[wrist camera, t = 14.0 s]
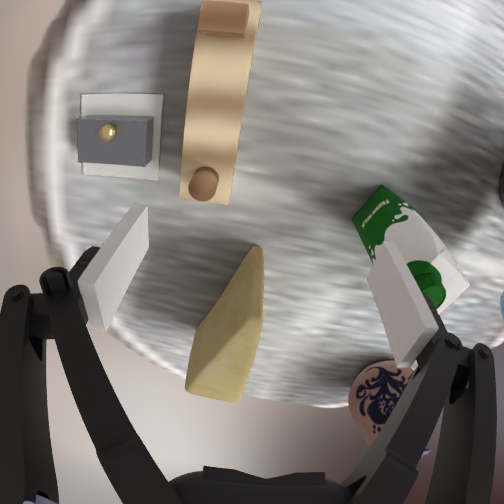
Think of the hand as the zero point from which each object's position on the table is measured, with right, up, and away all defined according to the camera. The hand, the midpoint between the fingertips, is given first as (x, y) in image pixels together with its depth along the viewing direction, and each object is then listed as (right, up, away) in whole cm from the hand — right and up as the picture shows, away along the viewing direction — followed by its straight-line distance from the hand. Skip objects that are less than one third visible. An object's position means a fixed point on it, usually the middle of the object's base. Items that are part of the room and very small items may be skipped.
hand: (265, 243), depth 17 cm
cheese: (-3, -8, +37) cm, 38 cm away
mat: (-19, +15, +21) cm, 32 cm away
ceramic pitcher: (+31, -30, +52) cm, 68 cm away
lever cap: (-19, +15, +20) cm, 31 cm away
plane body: (-5, +19, +18) cm, 27 cm away
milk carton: (+19, +5, +27) cm, 34 cm away
